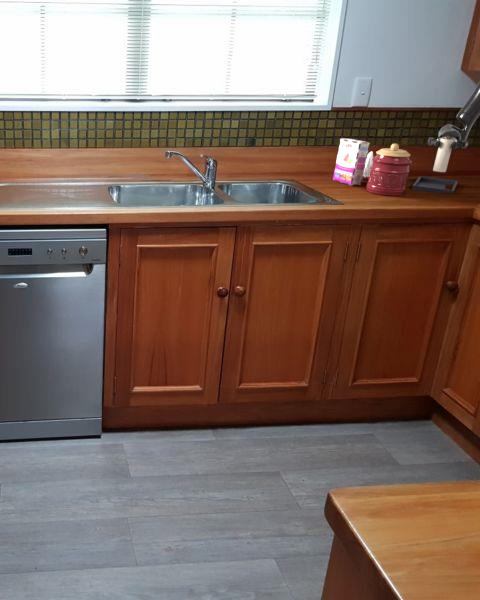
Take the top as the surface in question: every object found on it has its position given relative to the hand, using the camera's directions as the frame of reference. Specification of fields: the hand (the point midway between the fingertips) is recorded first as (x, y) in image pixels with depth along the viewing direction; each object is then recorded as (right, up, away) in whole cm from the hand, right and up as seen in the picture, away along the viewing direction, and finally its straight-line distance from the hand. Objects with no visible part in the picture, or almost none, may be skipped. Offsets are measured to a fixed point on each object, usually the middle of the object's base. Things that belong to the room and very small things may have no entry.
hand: (445, 145), depth 226 cm
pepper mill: (+1, -8, +6) cm, 10 cm away
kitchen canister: (-23, -18, -1) cm, 29 cm away
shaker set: (-19, -9, +20) cm, 29 cm away
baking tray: (+1, -14, +9) cm, 17 cm away
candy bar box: (-31, -12, +13) cm, 36 cm away
